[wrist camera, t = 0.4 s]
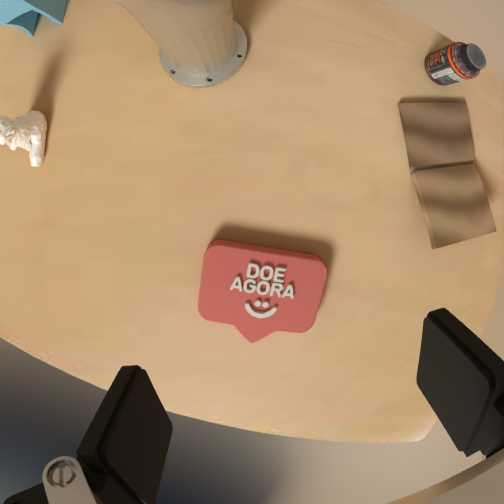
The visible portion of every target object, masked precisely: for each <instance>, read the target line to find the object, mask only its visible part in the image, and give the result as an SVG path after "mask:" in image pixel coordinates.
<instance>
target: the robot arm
mask: <svg viewBox="0 0 504 504" xmlns="http://www.w3.org/2000/svg"><path fill="white" fill-rule="evenodd" d="M111 1H113V2H115V3H117V4H119V5H120V6H122V7H123V8H125V9H126V10H127V11H128V12H129V13H130V14H131V15H132V16H133V17H134V18H135V19H136V20H137V21H138V22H139V23H140V24H141V26H142V27H143V28H144V29H145V31H146V32H147V33H148V34H149V35H150V36H151V38H152V39H153V40H154V41H155V42H156V43H157V45H158V46H159V47H160V50H159V56H160V62H161V65H162V67H163V69H164V70H165V72H166V73H167V74H168V75H169V76H170V77H171V78H172V79H173V80H175V81H177V82H179V83H180V84H183V85H186V86H190V87H207V86H212V85H216V84H218V83H221V82H223V81H225V80H226V79H228V78H230V77H231V76H232V75H233V74H235V73H236V72H237V70H238V69H239V68H240V67H241V65H242V63H243V62H244V60H245V57H246V54H247V39H246V35H245V32H244V31H243V29H242V27H241V26H240V25H239V24H238V23H237V22H236V21H235V20H233V11H232V1H231V0H111ZM239 55H240V56H242V57H240V58H239V57H238V56H239ZM173 72H175V74H173ZM210 79H211V80H212V81H211V82H209V80H210ZM416 379H417V385H418V387H419V389H420V390H421V392H422V393H423V395H424V396H425V398H426V399H427V401H428V402H429V404H430V405H431V407H432V409H433V410H434V412H435V413H436V415H437V416H438V418H439V420H440V421H441V423H442V424H443V426H444V428H445V429H446V431H447V433H448V434H449V436H450V437H451V439H452V441H453V442H454V444H455V446H456V447H457V449H458V450H459V451H463V452H464V453H465V455H466V457H468V456H470V455H472V454H474V453H475V452H477V451H479V450H480V451H481V452H482V454H483V456H482V461H481V462H480V463H478V464H476V465H474V466H472V467H470V468H469V469H467V470H465V471H463V472H461V473H459V474H457V475H455V476H453V477H451V478H449V479H447V480H444V481H442V482H440V483H438V484H436V485H433V486H431V487H429V488H427V489H424V490H422V491H419V492H417V493H414V494H412V495H409V496H407V497H404V498H401V499H398V500H395V501H393V502H390V503H386V504H504V361H503V360H502V359H501V358H500V357H499V356H498V355H497V354H496V353H495V352H493V351H492V350H491V349H490V348H489V347H488V346H487V345H486V344H485V343H484V342H483V341H482V340H481V339H480V338H478V337H477V336H476V335H475V334H474V333H473V332H472V331H471V330H470V329H469V328H467V327H466V326H465V325H464V324H463V323H462V322H461V321H459V320H458V319H457V318H456V317H455V316H454V315H453V314H451V313H450V312H449V311H448V310H447V309H445V308H440V309H437V310H434V311H431V312H429V313H428V315H427V317H426V318H425V319H424V322H423V332H422V342H421V350H420V358H419V365H418V371H417V378H416ZM172 430H173V428H172V423H171V421H170V419H169V417H168V415H167V413H166V411H165V409H164V407H163V405H162V403H161V401H160V399H159V397H158V395H157V393H156V391H155V389H154V387H153V385H152V383H151V381H150V378H149V376H148V374H147V372H146V371H145V370H144V369H141V367H140V366H138V365H133V366H122V367H121V368H120V370H119V372H118V374H117V376H116V377H115V379H114V381H113V383H112V385H111V387H110V388H109V390H108V392H107V394H106V396H105V398H104V399H103V402H102V403H101V405H100V407H99V409H98V411H97V413H96V414H95V417H94V418H93V420H92V422H91V424H90V426H89V428H88V430H87V432H86V434H85V436H84V438H83V440H82V442H81V444H80V446H79V448H78V450H77V452H76V453H77V454H78V456H77V458H76V460H75V459H74V458H72V457H68V456H62V457H59V458H56V459H54V460H52V461H51V462H50V463H49V464H48V465H47V466H46V468H45V469H44V472H43V483H41V484H38V485H36V486H34V487H32V488H29V489H27V490H25V491H22V492H20V493H17V494H15V495H13V496H11V497H9V498H8V499H6V500H5V501H4V503H3V504H155V502H156V497H157V493H158V489H159V485H160V480H161V476H162V472H163V468H164V463H165V459H166V455H167V451H168V447H169V443H170V438H171V435H172Z"/></svg>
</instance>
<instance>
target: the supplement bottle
mask: <svg viewBox="0 0 504 504" xmlns="http://www.w3.org/2000/svg"><path fill="white" fill-rule="evenodd" d="M485 66H486V59H485V56H484V54H483V52H482V51H481V49H480V48H479V47H478V46H476V45H475V44H472V43H471V44H465V43H462V42H455V43H453V44H450V45H448V46H446V47H444V48H442V49H439V50H437V51H435V52H433V53H431V54H429V55H428V56H427V57H426V59H425V69H426V72H427V74H428V76H429V77H430V78H431V79H432V80H433V81H434V82H435V83H437V84H439V85H449V84H452V83H456V82H460V81H464V80H468V79H471V78H474V77H476V76H477V75H478V74H479V72H480V69H483V68H484V67H485Z"/></svg>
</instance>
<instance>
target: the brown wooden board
mask: <svg viewBox="0 0 504 504" xmlns="http://www.w3.org/2000/svg"><path fill="white" fill-rule="evenodd" d="M398 107H399V112H400V117H401V121H402V126H403V132H404V137H405V143H406V148H407V154H408V161H409V168H410V172H414V171H421V170H429V169H436V168H444V167H452V166H460V165H468V164H473V160H475V155H474V147H473V140H472V134H471V128H470V122H469V117H468V112H467V107H466V103H453V102H422V103H400V104H398Z"/></svg>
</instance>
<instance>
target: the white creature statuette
mask: <svg viewBox="0 0 504 504" xmlns="http://www.w3.org/2000/svg"><path fill="white" fill-rule="evenodd" d="M46 131H47V121H46V117H45V116H44V115H43V114H42V113H41V112H40V111H33V110H32V111H29V112H27V113H26V114H25V115H22V116H21V117H17V118H13V119H12V120H11V119H10V118H9V117H7V116H0V144H1V145H4V144H5V143H7V145H10V149H11V150H16V149H17V147H22V148H24V149H25V150H27V151H30V155H29V157H30V160H31V165H32V166H41V165H42V163H43V159H44V158H45V156H44V152H45V144H46V142H45V140H46Z"/></svg>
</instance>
